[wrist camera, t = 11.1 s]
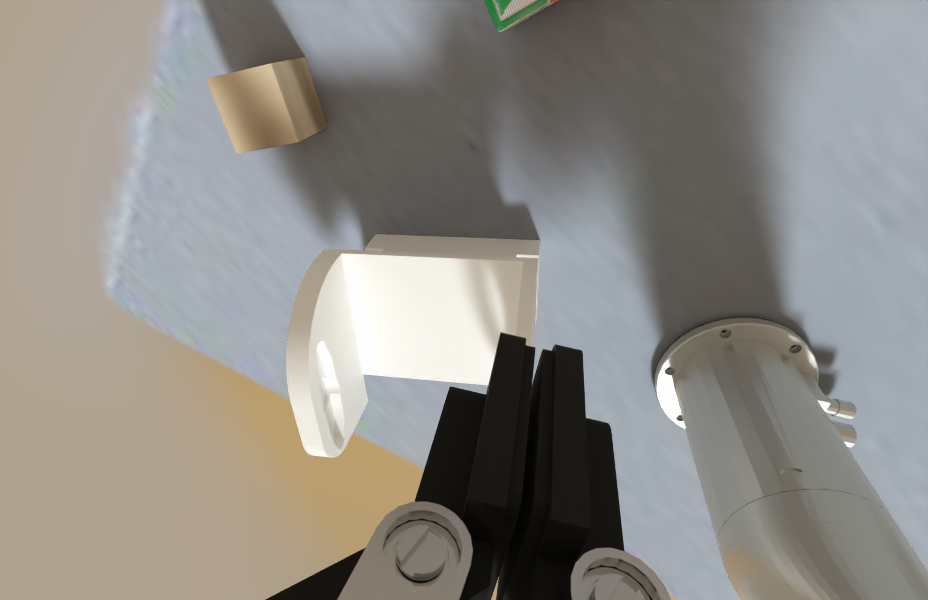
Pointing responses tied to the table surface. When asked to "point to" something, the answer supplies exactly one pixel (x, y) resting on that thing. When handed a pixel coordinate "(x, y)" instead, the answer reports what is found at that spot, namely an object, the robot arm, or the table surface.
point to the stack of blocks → (514, 11)
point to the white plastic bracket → (402, 322)
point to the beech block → (268, 105)
